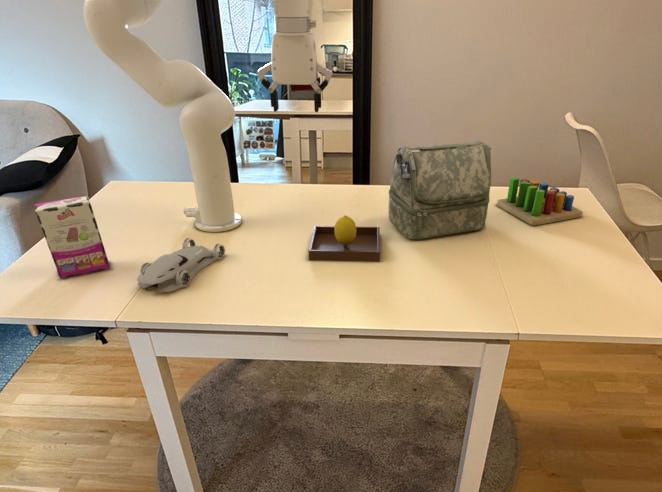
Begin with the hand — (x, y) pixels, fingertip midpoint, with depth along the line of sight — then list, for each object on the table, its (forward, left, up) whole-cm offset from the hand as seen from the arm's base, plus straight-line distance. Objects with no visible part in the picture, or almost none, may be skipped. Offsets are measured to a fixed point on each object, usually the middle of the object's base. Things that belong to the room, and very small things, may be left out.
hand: (296, 110), depth 129 cm
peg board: (+67, +17, -30) cm, 75 cm away
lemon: (+12, -10, -30) cm, 34 cm away
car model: (-26, -25, -30) cm, 47 cm away
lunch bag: (+36, +5, -30) cm, 47 cm away
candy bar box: (-49, -25, -30) cm, 63 cm away
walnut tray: (+12, -10, -30) cm, 34 cm away
